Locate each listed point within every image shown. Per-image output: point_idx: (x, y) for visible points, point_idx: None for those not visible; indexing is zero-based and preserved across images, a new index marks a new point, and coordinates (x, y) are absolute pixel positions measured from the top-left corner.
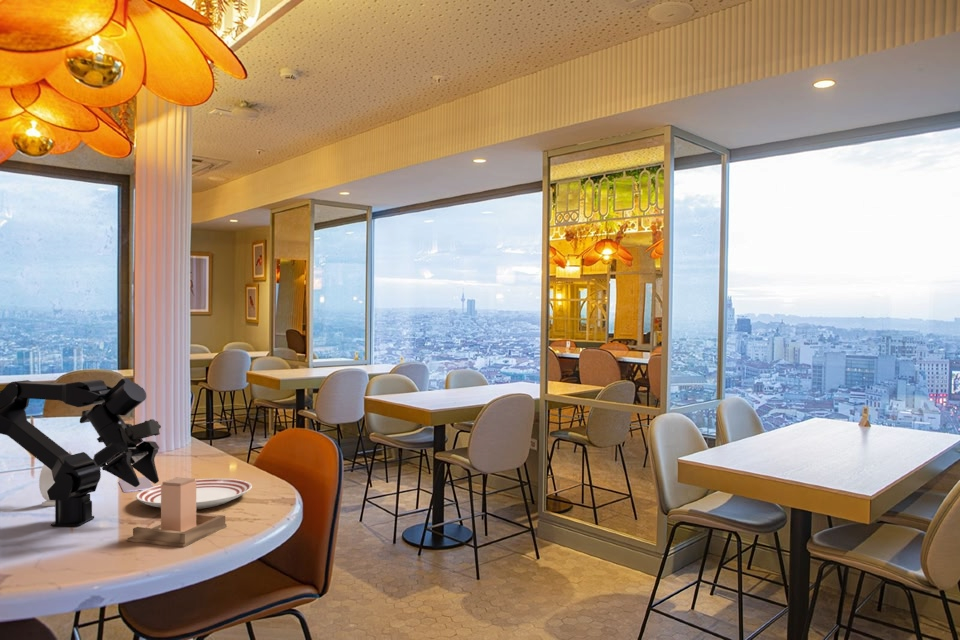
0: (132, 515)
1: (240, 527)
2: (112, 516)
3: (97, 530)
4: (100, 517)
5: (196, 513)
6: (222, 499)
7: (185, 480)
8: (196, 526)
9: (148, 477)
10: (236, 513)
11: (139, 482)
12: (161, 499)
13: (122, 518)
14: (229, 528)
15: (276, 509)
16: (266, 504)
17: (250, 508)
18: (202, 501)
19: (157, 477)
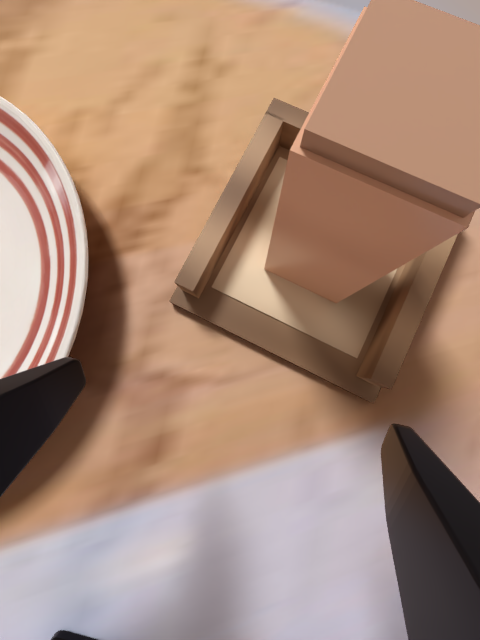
0: (53, 479)
1: (280, 89)
2: (46, 558)
3: (224, 555)
4: (48, 606)
5: (225, 200)
6: (50, 143)
7: (441, 38)
8: None
9: (33, 444)
10: (123, 124)
11: (399, 431)
12: (401, 263)
13: (85, 507)
14: None
15: (108, 16)
16: (40, 51)
17: (75, 91)
18: (78, 204)
19: (48, 369)
